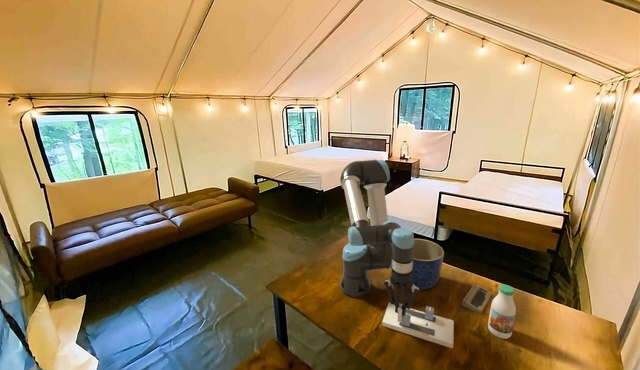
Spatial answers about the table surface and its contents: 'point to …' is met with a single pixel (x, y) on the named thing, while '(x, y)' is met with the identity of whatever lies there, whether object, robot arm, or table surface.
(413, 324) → the switch board
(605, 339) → the table surface
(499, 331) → the milk bottle
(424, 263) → the planter
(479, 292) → the computer
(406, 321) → the tab near
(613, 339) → the table surface
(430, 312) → the tab far
